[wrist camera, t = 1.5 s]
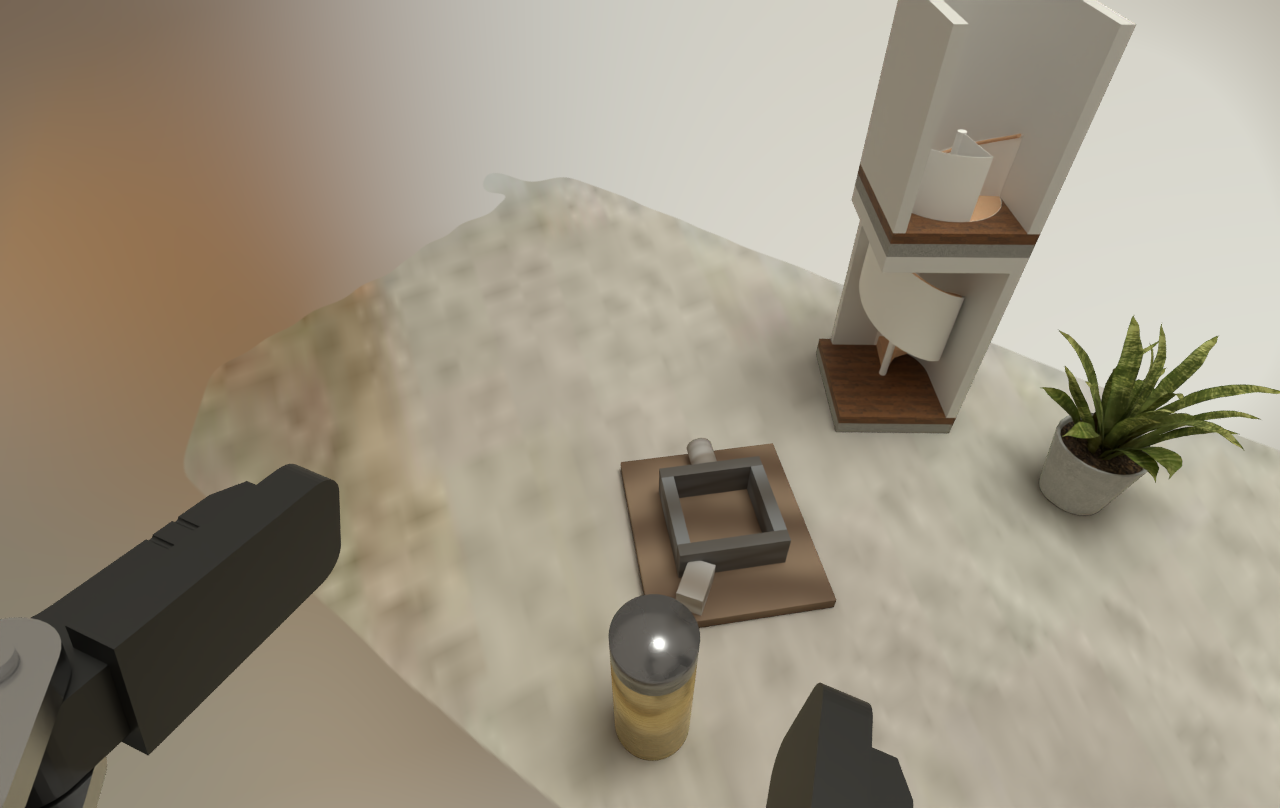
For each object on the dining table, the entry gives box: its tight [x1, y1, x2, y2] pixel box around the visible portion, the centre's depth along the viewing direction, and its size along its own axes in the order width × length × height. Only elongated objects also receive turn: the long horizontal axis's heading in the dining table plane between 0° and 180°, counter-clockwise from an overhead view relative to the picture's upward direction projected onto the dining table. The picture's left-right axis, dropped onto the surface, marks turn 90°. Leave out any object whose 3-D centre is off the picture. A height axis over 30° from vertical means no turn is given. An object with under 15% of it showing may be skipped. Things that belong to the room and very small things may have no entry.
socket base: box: [621, 438, 836, 628], centre depth 55 cm, size 16×14×4 cm
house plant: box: [1039, 316, 1280, 515], centre depth 53 cm, size 14×14×16 cm
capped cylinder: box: [609, 594, 700, 760], centre depth 42 cm, size 5×5×12 cm
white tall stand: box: [816, 0, 1136, 433], centre depth 56 cm, size 11×11×35 cm
